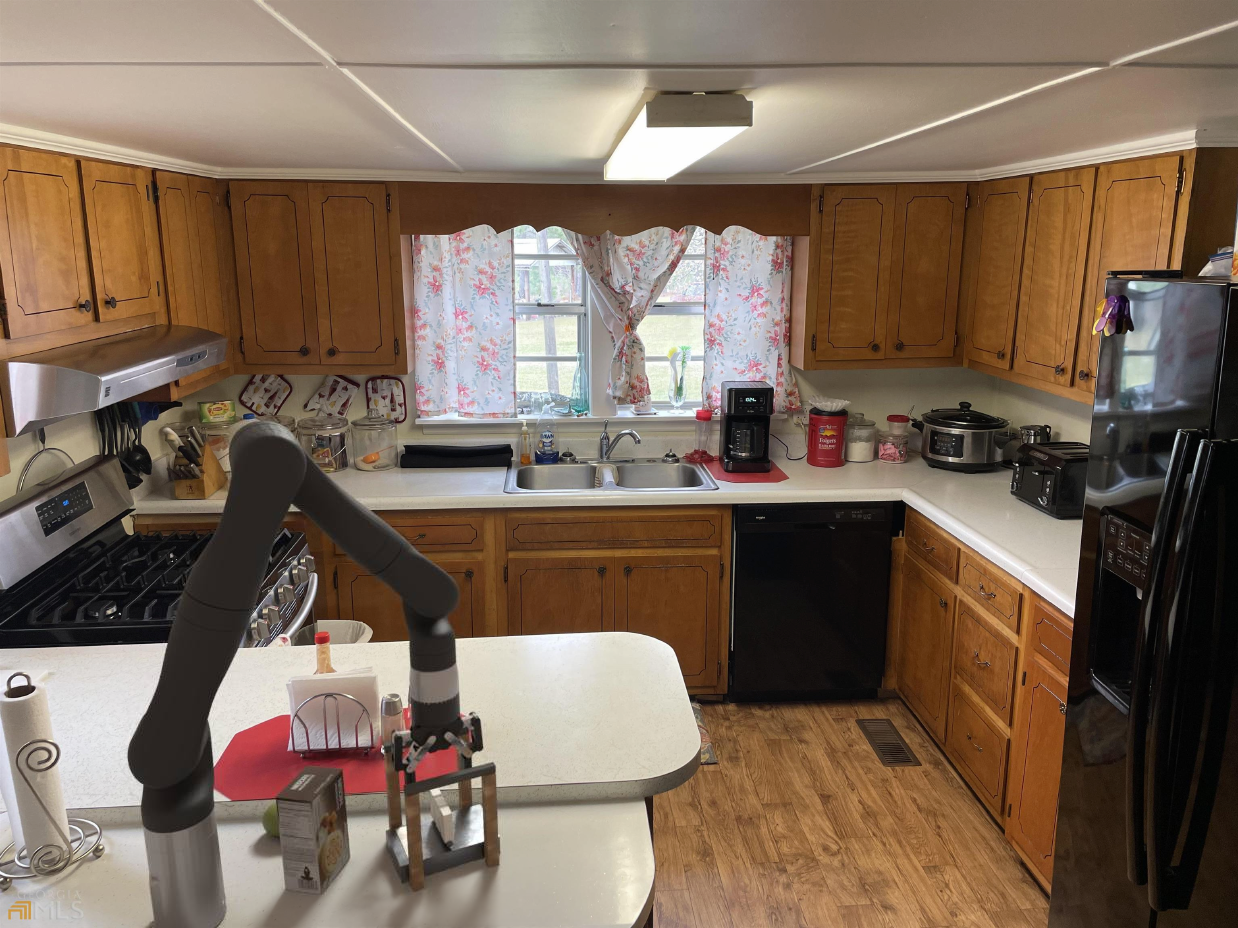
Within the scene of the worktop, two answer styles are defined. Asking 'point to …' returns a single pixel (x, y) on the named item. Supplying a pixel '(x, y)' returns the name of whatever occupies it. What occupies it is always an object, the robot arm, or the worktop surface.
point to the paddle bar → (442, 816)
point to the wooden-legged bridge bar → (409, 742)
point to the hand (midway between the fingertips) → (439, 782)
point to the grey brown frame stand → (415, 821)
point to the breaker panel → (441, 843)
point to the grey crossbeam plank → (449, 779)
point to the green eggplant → (271, 820)
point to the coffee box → (313, 829)
